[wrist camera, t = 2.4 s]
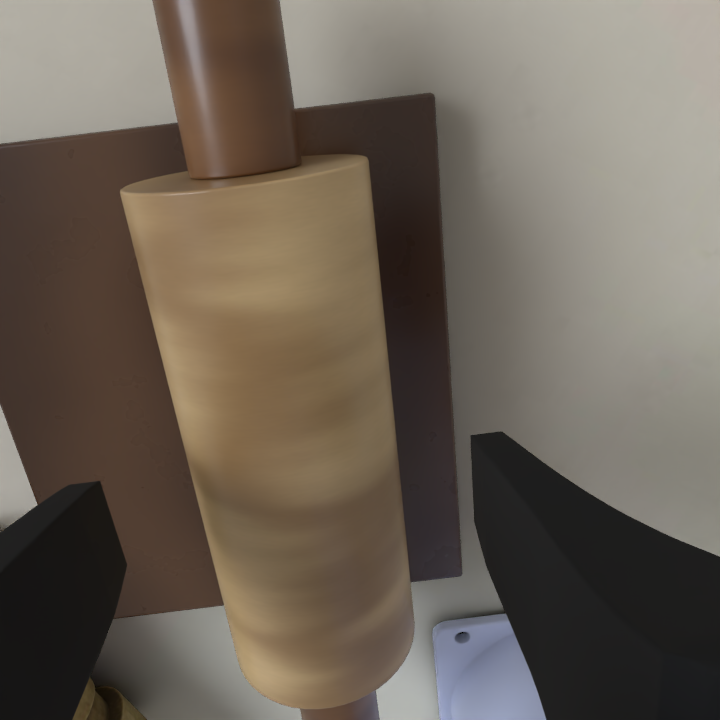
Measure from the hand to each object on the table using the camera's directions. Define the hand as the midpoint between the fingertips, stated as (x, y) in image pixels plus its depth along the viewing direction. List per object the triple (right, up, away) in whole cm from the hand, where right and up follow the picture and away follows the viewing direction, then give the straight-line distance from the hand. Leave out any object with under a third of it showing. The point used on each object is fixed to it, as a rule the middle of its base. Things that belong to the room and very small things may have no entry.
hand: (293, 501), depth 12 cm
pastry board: (-2, +2, +6) cm, 7 cm away
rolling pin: (0, +1, +2) cm, 3 cm away
